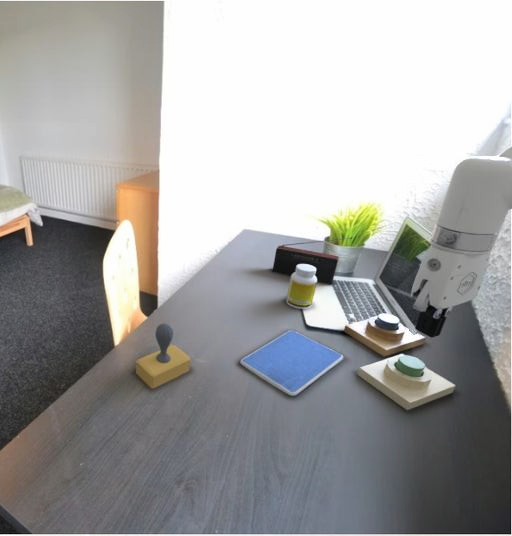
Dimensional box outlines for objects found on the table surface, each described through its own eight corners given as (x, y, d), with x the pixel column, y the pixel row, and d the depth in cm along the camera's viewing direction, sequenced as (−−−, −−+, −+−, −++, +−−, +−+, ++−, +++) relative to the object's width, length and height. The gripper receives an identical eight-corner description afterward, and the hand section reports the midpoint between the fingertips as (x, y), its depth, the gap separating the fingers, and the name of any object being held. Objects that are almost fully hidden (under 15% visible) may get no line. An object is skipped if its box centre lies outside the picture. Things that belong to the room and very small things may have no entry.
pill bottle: (315, 310, 98) (324, 272, 93) (291, 310, 98) (299, 273, 93) (304, 298, 103) (312, 262, 98) (282, 298, 103) (289, 262, 99)
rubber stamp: (172, 356, 82) (174, 310, 77) (190, 371, 78) (194, 323, 73) (135, 373, 78) (135, 325, 73) (151, 390, 73) (153, 340, 68)
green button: (405, 361, 74) (408, 353, 73) (426, 374, 70) (430, 365, 69) (390, 366, 72) (393, 357, 72) (411, 379, 69) (415, 371, 68)
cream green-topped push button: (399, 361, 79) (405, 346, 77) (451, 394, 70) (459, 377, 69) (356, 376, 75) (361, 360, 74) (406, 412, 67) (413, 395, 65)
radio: (271, 273, 117) (279, 228, 111) (274, 269, 120) (282, 225, 113) (338, 288, 108) (351, 240, 101) (340, 284, 110) (352, 236, 103)
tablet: (290, 332, 89) (291, 327, 89) (344, 360, 80) (346, 355, 79) (237, 364, 79) (238, 359, 79) (293, 400, 70) (294, 395, 69)
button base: (380, 322, 92) (384, 308, 90) (422, 345, 83) (428, 330, 82) (343, 332, 89) (347, 318, 87) (383, 358, 80) (388, 343, 78)
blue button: (384, 319, 87) (386, 311, 86) (401, 328, 83) (404, 320, 82) (371, 323, 86) (373, 315, 85) (388, 332, 82) (391, 324, 81)
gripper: (457, 254, 54) (418, 355, 62) (522, 237, 58) (478, 334, 66) (405, 237, 61) (376, 331, 69) (466, 223, 65) (433, 313, 73)
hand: (426, 332), depth 67 cm, fingers closed
